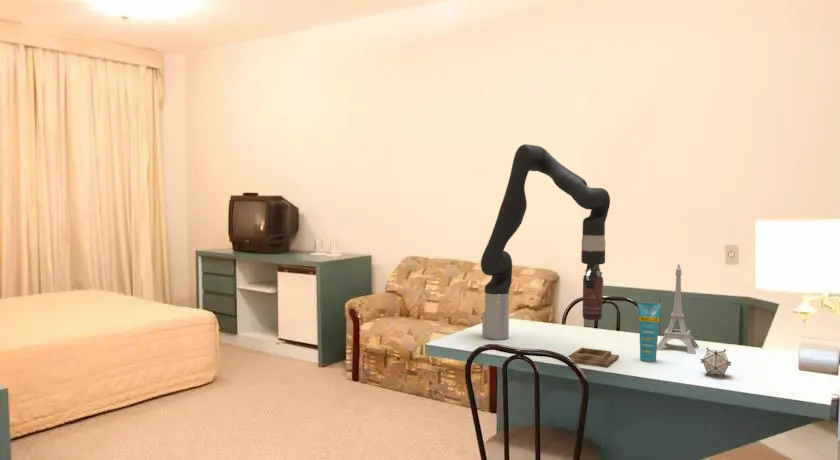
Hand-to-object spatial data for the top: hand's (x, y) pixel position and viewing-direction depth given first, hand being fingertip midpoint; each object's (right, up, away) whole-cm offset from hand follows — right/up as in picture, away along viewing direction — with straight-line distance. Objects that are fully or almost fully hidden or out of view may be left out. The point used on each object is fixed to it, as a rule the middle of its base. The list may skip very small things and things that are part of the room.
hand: (592, 301), depth 208 cm
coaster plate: (0, -19, +1) cm, 19 cm away
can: (0, -6, 0) cm, 6 cm away
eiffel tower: (+35, -19, +18) cm, 44 cm away
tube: (+18, -20, 0) cm, 27 cm away
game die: (+32, -20, -18) cm, 42 cm away
